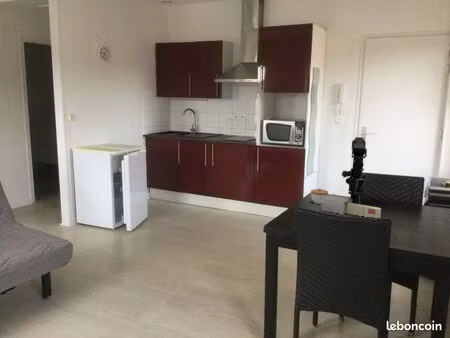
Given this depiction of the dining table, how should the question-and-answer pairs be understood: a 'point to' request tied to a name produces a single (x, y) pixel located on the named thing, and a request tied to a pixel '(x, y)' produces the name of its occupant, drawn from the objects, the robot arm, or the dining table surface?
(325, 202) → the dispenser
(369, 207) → the beige rectangular box
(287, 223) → the dining table surface
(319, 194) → the lidded jar
